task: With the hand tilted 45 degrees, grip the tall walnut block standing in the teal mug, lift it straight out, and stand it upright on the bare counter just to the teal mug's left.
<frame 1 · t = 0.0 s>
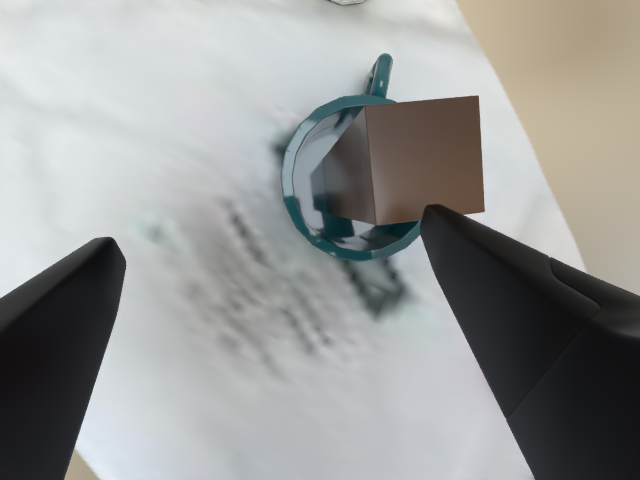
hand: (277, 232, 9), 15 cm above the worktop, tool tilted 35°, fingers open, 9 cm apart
block: (351, 184, 24), point 1 cm above the worktop, touching teal mug
teal mug: (350, 184, 24), on the worktop
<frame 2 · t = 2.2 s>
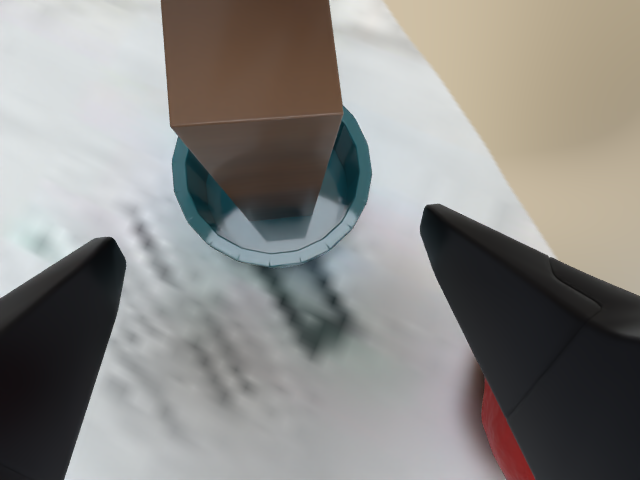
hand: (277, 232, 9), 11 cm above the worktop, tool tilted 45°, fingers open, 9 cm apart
block: (277, 187, 20), point 1 cm above the worktop, touching teal mug
teal mug: (278, 190, 21), on the worktop
pomegranate: (531, 402, 21), on the worktop
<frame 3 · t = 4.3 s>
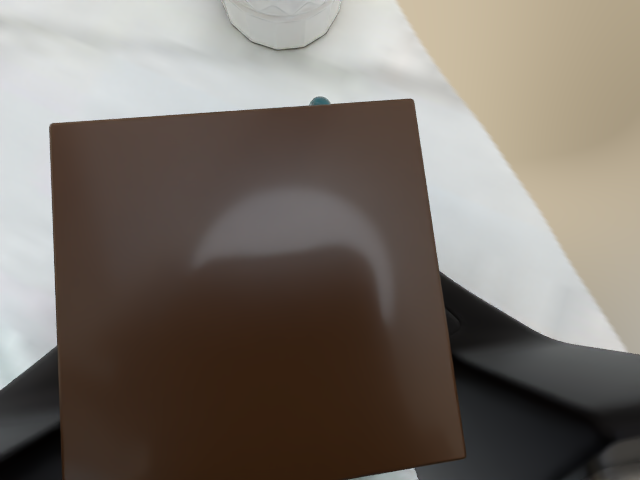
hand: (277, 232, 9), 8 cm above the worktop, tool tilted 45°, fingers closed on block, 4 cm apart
block: (287, 276, 16), point 1 cm above the worktop, touching gripper, teal mug
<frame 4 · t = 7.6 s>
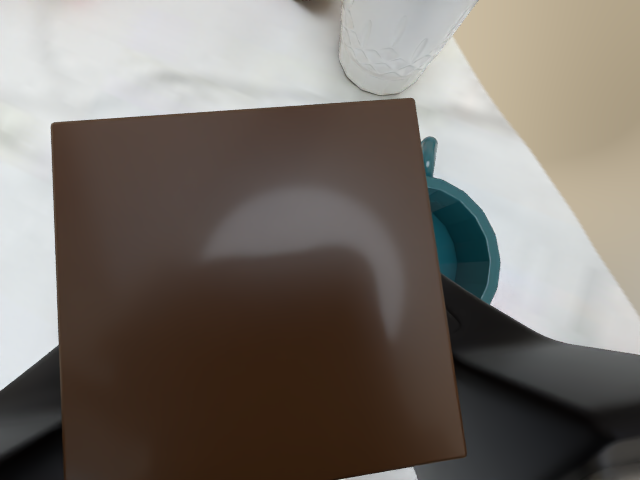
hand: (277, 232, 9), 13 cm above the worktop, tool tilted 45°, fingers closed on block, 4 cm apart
block: (287, 276, 16), point 6 cm above the worktop, touching gripper
white cup: (380, 56, 25), on the worktop
teal mug: (393, 261, 23), on the worktop
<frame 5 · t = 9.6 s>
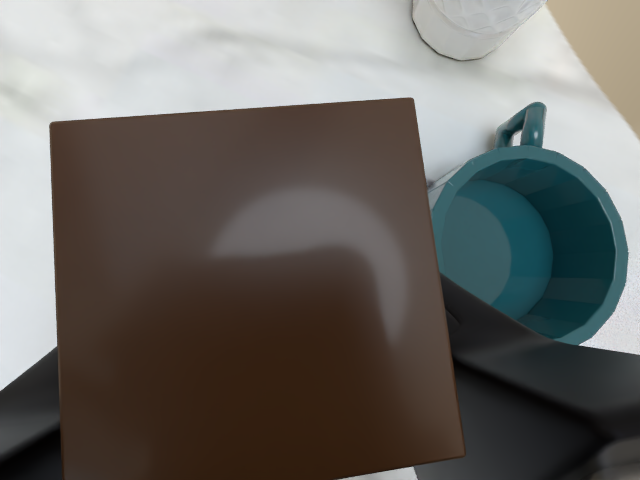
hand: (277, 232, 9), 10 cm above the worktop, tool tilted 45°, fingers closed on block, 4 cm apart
block: (287, 276, 16), point 3 cm above the worktop, touching gripper
white cup: (458, 16, 22), on the worktop
teal mug: (478, 252, 20), on the worktop
when the fingers open (7 cm above the worktop, at t = 10.9 s): block stays where it is, on the worktop.
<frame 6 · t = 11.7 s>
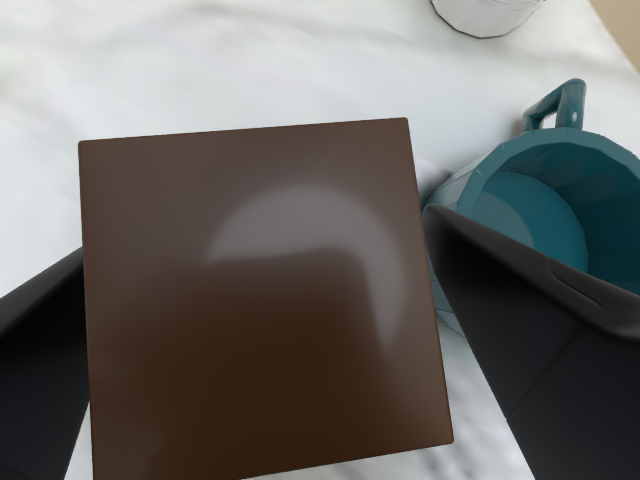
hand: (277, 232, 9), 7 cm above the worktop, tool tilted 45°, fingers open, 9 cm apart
block: (287, 277, 17), on the worktop
teal mug: (502, 253, 18), on the worktop
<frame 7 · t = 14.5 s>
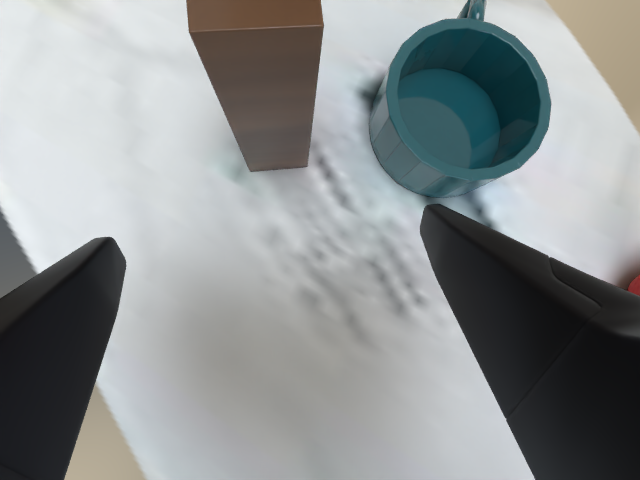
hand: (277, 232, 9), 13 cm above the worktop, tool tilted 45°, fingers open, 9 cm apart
block: (276, 141, 23), on the worktop
teal mug: (437, 130, 24), on the worktop
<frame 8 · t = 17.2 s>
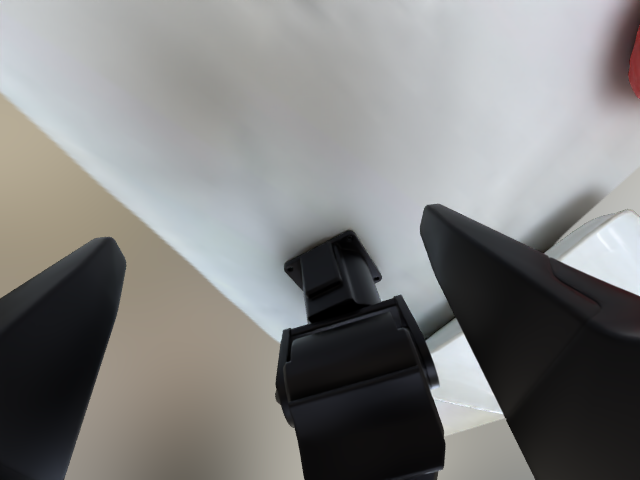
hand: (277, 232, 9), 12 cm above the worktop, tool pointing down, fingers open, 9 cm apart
square plate: (529, 321, 38), on the worktop
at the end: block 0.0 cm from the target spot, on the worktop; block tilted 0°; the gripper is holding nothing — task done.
